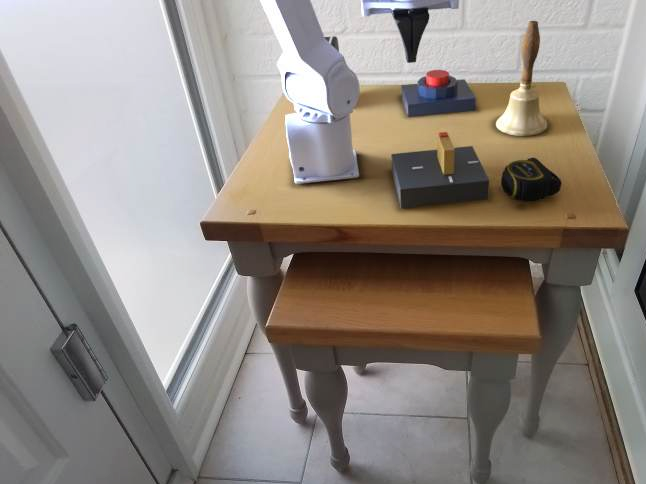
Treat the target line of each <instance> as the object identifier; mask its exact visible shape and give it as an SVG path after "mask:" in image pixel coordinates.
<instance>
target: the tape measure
mask: <svg viewBox="0 0 646 484" xmlns="http://www.w3.org/2000/svg"><path fill="white" fill-rule="evenodd" d="M500 185H501V187H502V190H503V192H504V193H505V194H506V195H507V196H508V197H510V198H511V199H513V200H516V201H520V202H526V203H527V202H528V203H529V202H531V203H533V202H539V201H541V200H544V199H545V198H549V197H552V196H555V195H557V194H558V193H559V192H560V191H561V189H562V180H561V178H560V177H559V176H558V175H557V174H556V173H555V172H553V171H552V170H550V169H549V167H546V166H545V165H544V164H543V163H542V162H541V161H540V160H539V159H538V158H536V157H530V158H527V159H516V160H513V161H511V162H510V163H508V164H507V165H505V167H504V169H503V171H502V173H501V179H500Z"/></svg>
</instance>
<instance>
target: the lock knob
mask: <svg viewBox="0 0 646 484" xmlns="http://www.w3.org/2000/svg"><path fill="white" fill-rule="evenodd" d="M454 148H455V147H454V145H453V142H452V140H451V137H450V134H449V133H448V131H441V132H438V133H437V149H438V150H437V149H436V150H437V157H438V160H439V163H440V166H441V169H442V172H443V174H444V175H446V174H454V153H455V150H454Z"/></svg>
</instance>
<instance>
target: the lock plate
mask: <svg viewBox="0 0 646 484" xmlns="http://www.w3.org/2000/svg"><path fill="white" fill-rule="evenodd" d="M437 150H438V148H437V149H429V150H427V149H426V150H417V151H407V152H400V153H399V152H398V153H391V172H392V173H391V174H392V177H393V182H394V186H395V189H396V193H397V198H398V202H399V207H400V209H410V208H417V207H418V208H419V207H428V206H438V205H447V204H457V203H465V202H477V201H484V200H485V201H486V200H488V199H489V191H490V178H489V177H488V174H487V172H486V171H485V168H484V166H483V164H482V162H481V161H480V158H479V156H478V155H477V152H476V150H475V148H474V147H473V145H469V146H458V147H454V150H455V153H454V174H446V175H444V174H443V172H442V169H441V166H440V163H439V160H438V157H437Z"/></svg>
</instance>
